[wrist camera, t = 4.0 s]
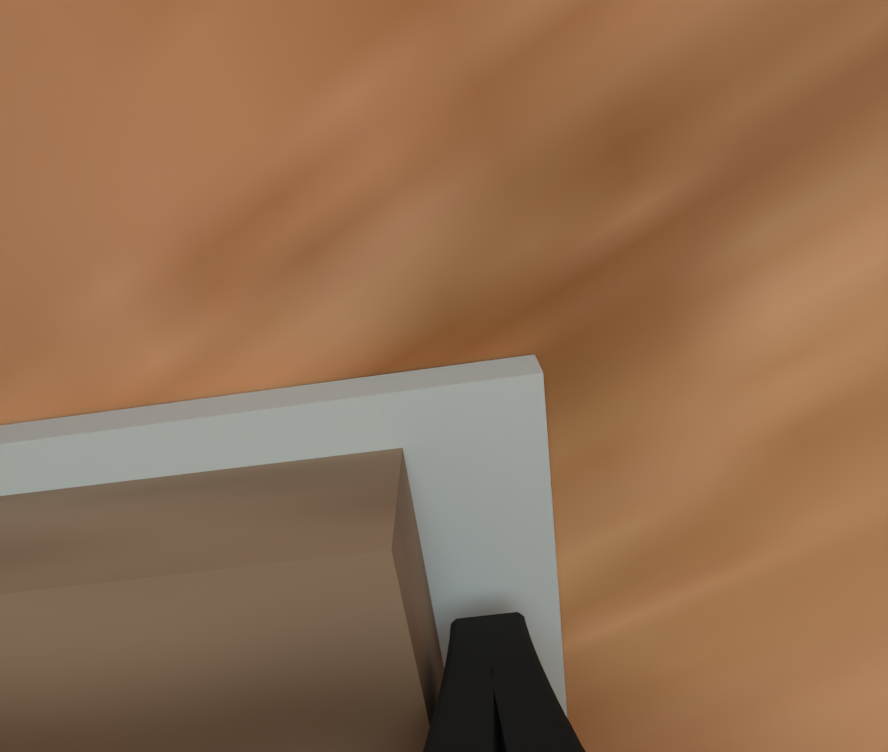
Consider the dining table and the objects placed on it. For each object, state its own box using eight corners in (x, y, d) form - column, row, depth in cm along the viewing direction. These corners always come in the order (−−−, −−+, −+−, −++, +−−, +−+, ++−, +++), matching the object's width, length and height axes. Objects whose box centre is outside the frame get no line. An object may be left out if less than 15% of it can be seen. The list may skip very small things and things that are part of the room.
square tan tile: (458, 745, 12) (463, 882, 10) (120, 778, 13) (52, 918, 11) (402, 447, 9) (390, 549, 7) (-47, 501, 10) (-198, 616, 7)
